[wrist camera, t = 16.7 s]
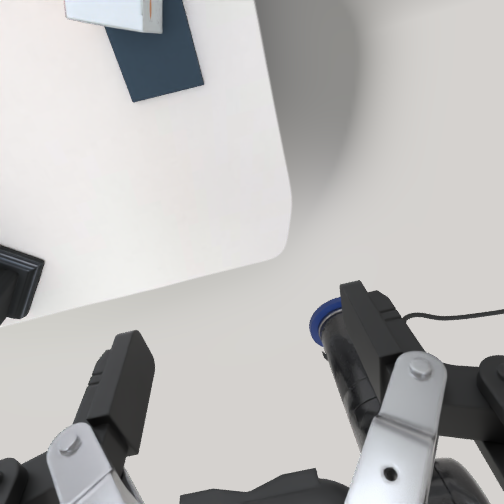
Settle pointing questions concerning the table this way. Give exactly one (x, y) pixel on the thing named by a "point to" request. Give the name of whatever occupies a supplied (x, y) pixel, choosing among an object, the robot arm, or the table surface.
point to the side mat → (158, 56)
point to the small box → (118, 14)
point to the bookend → (17, 282)
